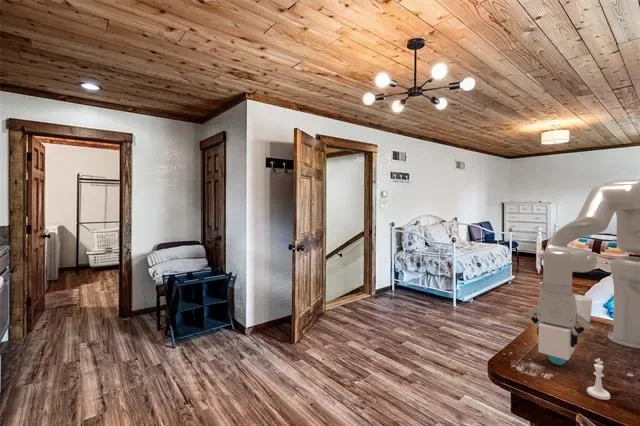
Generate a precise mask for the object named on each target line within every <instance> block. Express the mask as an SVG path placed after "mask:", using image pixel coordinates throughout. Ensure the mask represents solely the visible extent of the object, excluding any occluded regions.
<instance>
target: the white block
mask: <svg viewBox="0 0 640 426" xmlns="http://www.w3.org/2000/svg"><path fill="white" fill-rule="evenodd" d="M571 334H572V332H571V328H569V327H563V326H559V325H554V324H550V323H545V322H541V323H540V324H539V335H538V339H537V340H538V345H537V346H538V348H537V349H538V353H541V354H544V355H547V356H548V355H551V356H555V357H558V358H562V359H566V361H569V359H570V358H571V357H572V355H573V354H574V352H575V349H576V348H575V347H576V346H574V348H573V347H571Z"/></svg>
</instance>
